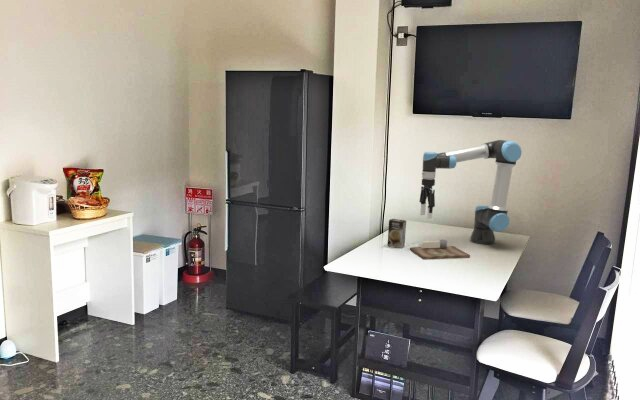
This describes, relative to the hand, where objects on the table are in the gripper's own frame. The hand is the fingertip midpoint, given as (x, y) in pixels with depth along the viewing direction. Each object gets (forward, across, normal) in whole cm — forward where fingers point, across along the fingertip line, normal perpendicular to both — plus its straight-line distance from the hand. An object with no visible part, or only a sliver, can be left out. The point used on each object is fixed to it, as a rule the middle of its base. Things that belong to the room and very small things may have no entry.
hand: (426, 216), depth 317 cm
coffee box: (+20, -7, -15) cm, 26 cm away
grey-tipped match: (+18, +6, +4) cm, 19 cm away
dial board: (+19, +12, +4) cm, 23 cm away
